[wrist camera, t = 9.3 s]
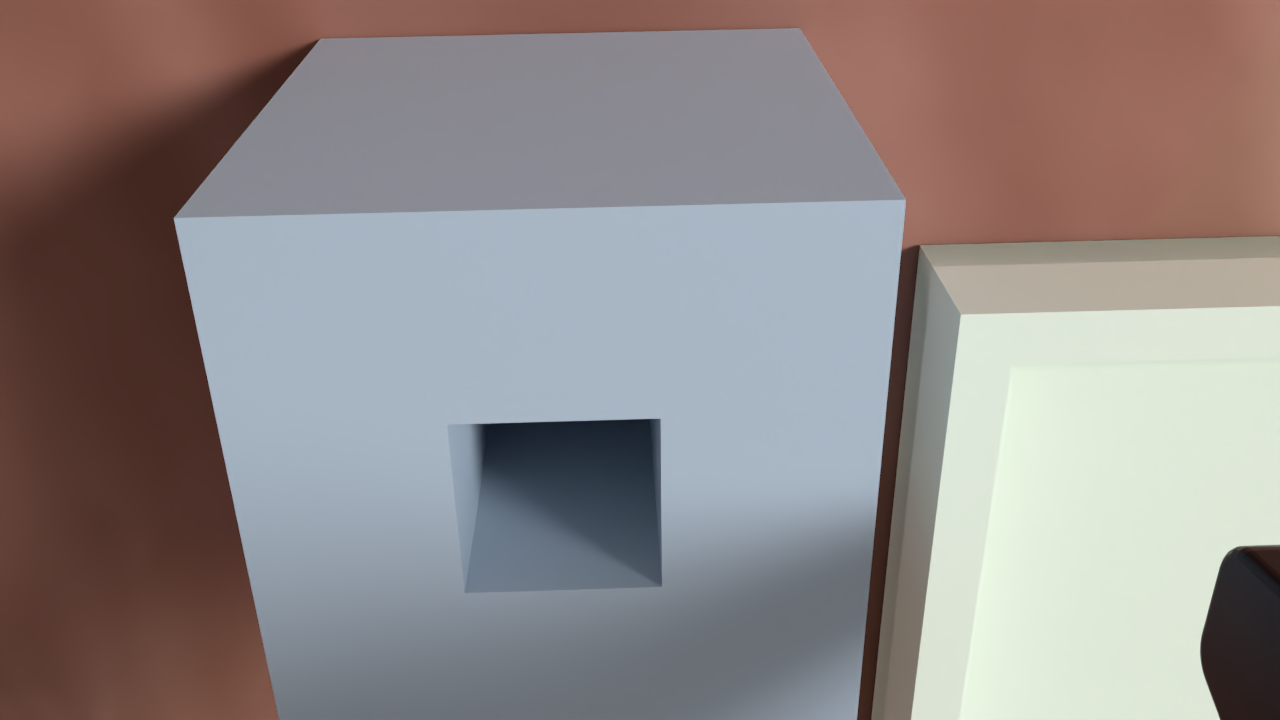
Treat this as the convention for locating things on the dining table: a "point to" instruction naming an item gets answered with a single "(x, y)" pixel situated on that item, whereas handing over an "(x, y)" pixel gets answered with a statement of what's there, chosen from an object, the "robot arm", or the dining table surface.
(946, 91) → the dining table surface
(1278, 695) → the robot arm
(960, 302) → the tray
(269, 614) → the slate block
